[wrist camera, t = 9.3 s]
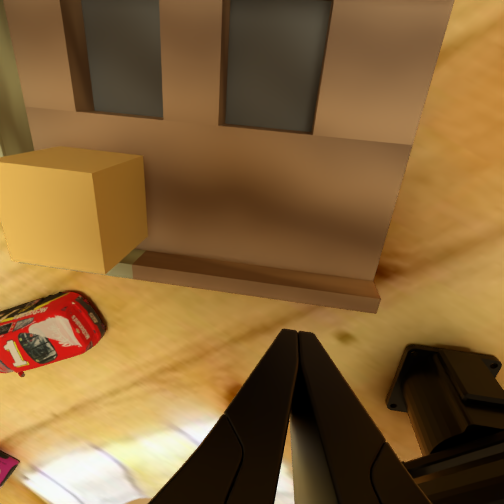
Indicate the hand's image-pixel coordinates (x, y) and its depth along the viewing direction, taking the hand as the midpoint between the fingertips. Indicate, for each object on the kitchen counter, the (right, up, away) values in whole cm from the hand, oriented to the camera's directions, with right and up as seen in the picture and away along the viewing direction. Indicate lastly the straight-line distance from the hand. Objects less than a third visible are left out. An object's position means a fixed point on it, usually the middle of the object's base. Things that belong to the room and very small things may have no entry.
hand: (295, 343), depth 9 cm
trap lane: (-4, +9, +11) cm, 15 cm away
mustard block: (-10, +6, +11) cm, 16 cm away
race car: (-20, -4, +20) cm, 28 cm away
